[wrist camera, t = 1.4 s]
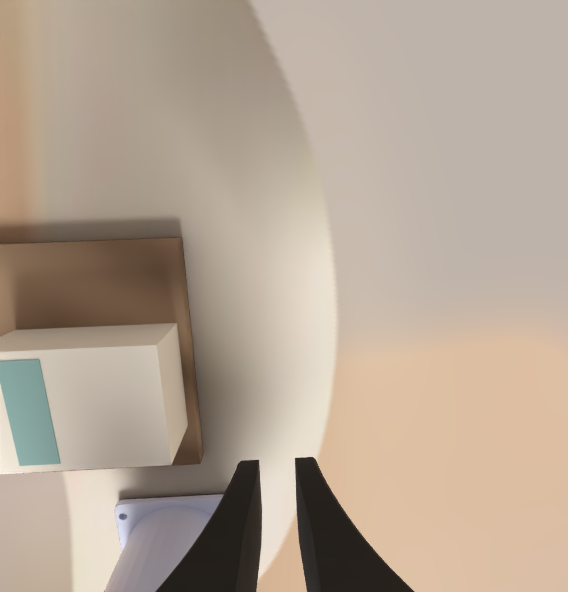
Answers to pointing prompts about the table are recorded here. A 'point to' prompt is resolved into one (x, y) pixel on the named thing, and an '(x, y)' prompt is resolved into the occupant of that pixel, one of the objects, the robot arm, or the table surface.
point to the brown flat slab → (104, 298)
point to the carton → (90, 398)
